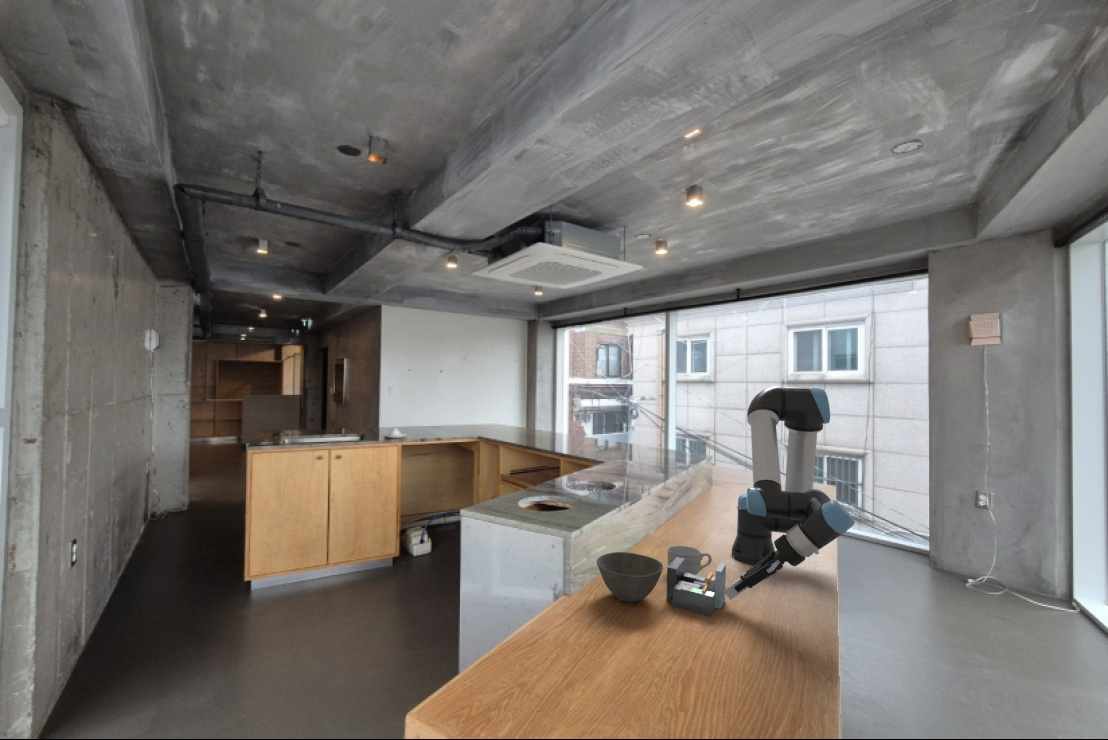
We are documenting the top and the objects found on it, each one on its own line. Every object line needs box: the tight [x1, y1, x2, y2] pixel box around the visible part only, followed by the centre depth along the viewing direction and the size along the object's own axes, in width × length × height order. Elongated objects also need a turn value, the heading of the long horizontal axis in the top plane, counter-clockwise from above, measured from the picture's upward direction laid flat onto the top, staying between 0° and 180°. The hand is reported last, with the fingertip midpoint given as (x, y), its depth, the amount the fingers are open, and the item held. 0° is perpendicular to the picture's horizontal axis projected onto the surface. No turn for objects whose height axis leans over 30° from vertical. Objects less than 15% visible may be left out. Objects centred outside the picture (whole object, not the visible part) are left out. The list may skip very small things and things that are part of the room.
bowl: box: [596, 551, 664, 603], centre depth 134 cm, size 19×19×10 cm
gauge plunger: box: [694, 562, 727, 610], centre depth 133 cm, size 7×8×10 cm
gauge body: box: [666, 557, 716, 618], centre depth 133 cm, size 14×13×9 cm
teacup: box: [666, 545, 713, 575], centre depth 153 cm, size 14×11×8 cm
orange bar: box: [702, 571, 714, 593], centre depth 130 cm, size 11×1×2 cm, turn 150°
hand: (727, 594), depth 130 cm, fingers closed
